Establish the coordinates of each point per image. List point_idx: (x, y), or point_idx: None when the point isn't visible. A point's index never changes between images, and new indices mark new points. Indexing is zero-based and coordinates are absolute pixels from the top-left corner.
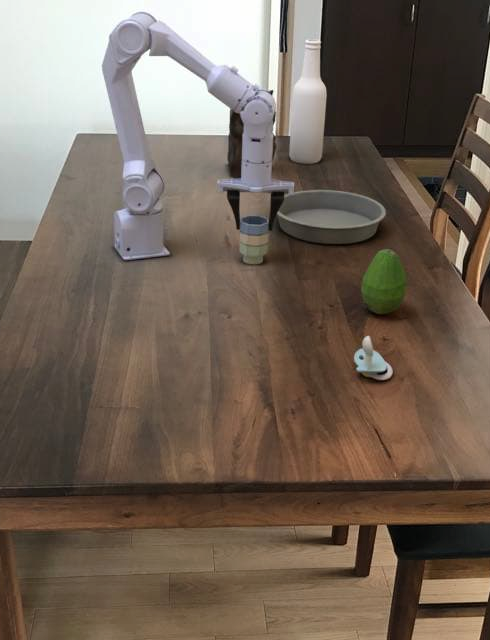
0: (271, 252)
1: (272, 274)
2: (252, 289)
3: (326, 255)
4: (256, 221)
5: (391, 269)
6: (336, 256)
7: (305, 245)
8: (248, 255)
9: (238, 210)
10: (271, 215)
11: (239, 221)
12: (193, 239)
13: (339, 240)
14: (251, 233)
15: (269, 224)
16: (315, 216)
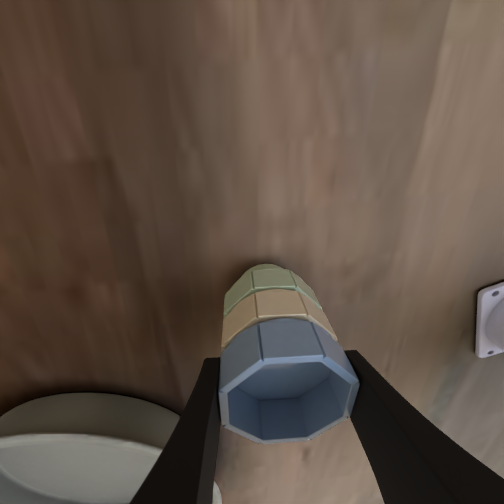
0: (216, 337)
1: (204, 198)
2: (274, 41)
3: (69, 339)
4: (272, 413)
5: None
6: (39, 337)
7: (137, 380)
8: (285, 270)
9: (420, 448)
10: (199, 435)
11: (368, 381)
12: (392, 374)
13: (46, 403)
14: (297, 323)
15: (214, 381)
16: (139, 481)
